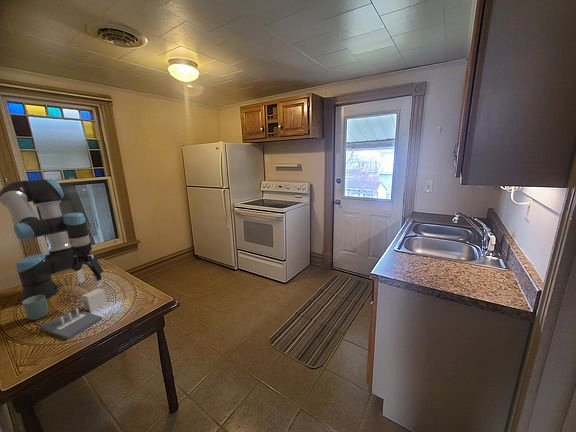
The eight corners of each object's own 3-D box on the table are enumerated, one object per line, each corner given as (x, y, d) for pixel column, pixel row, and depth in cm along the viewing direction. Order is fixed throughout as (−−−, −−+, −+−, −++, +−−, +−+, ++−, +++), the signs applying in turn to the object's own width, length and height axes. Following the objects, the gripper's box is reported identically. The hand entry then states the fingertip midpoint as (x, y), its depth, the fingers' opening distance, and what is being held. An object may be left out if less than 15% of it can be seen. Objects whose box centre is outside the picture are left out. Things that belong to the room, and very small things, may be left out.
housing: (84, 310, 123) (80, 296, 121) (100, 301, 130) (97, 288, 128) (90, 312, 121) (87, 297, 119) (107, 303, 129) (104, 289, 127)
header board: (40, 329, 110) (36, 318, 108) (75, 311, 122) (72, 300, 121) (67, 339, 103) (64, 327, 101) (102, 319, 116) (99, 308, 114)
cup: (53, 313, 121) (48, 296, 118) (33, 323, 114) (27, 305, 111) (44, 310, 123) (38, 293, 121) (23, 320, 116) (17, 302, 114)
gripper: (55, 244, 118) (66, 283, 123) (89, 249, 110) (99, 291, 115) (73, 239, 125) (83, 276, 130) (106, 244, 116) (115, 283, 122)
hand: (90, 283), depth 122 cm, fingers open, 13 cm apart
